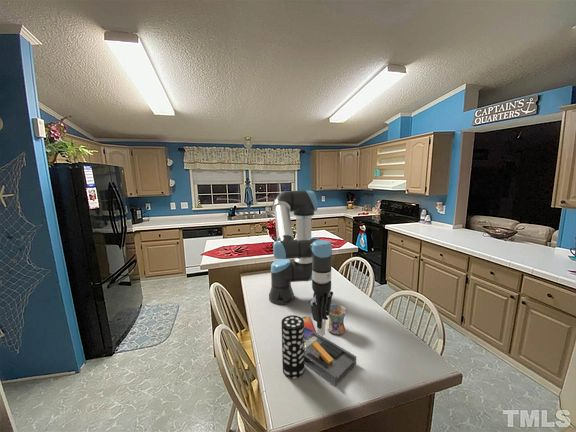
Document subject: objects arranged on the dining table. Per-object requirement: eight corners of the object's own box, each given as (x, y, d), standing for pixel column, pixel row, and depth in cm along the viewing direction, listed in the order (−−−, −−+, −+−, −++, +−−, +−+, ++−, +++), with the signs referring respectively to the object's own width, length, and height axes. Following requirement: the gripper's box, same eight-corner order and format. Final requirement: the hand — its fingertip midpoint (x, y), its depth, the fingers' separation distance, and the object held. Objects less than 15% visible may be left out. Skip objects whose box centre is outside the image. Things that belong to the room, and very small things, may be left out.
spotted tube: (281, 362, 96) (280, 316, 92) (302, 360, 96) (302, 314, 93) (283, 379, 88) (282, 329, 84) (305, 377, 88) (305, 328, 85)
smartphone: (302, 339, 109) (302, 337, 109) (295, 319, 124) (295, 318, 124) (317, 337, 110) (317, 335, 110) (309, 318, 125) (309, 316, 125)
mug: (348, 335, 111) (349, 314, 109) (328, 336, 110) (328, 315, 108) (341, 320, 122) (341, 301, 121) (323, 321, 122) (323, 301, 120)
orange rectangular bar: (311, 346, 96) (312, 343, 95) (315, 343, 98) (316, 340, 97) (328, 364, 91) (329, 362, 90) (332, 361, 92) (333, 359, 92)
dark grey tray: (291, 353, 100) (291, 345, 99) (313, 337, 110) (313, 329, 109) (335, 386, 84) (335, 376, 84) (356, 364, 94) (356, 355, 93)
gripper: (318, 288, 87) (318, 346, 92) (339, 277, 96) (338, 330, 100) (303, 282, 93) (303, 336, 97) (324, 272, 102) (323, 322, 106)
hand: (321, 333), depth 99 cm, fingers closed
